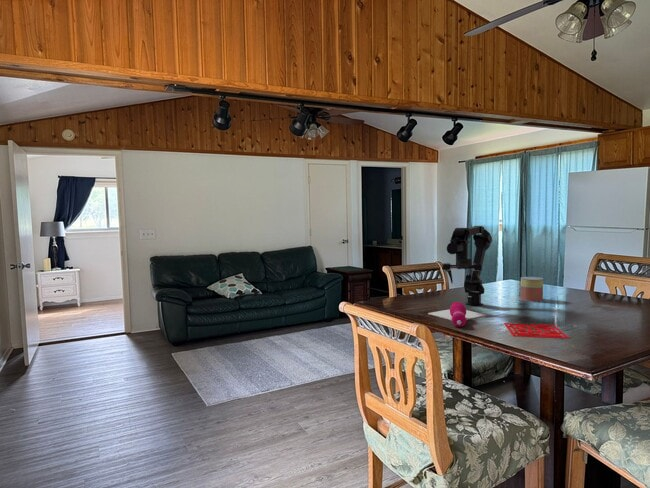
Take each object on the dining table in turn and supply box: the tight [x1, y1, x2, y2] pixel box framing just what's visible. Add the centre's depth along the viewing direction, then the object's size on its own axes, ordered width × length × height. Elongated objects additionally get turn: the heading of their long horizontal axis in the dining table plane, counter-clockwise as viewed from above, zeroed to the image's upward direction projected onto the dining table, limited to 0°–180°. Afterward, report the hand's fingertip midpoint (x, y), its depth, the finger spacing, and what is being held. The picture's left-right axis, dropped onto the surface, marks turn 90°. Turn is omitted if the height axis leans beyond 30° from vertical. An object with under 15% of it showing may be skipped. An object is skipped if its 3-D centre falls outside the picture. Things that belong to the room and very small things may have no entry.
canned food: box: [519, 276, 544, 303], centre depth 237 cm, size 11×11×12 cm
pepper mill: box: [449, 301, 467, 328], centre depth 190 cm, size 7×7×20 cm
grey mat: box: [427, 308, 487, 321], centre depth 206 cm, size 20×18×1 cm
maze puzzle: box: [503, 322, 570, 339], centre depth 177 cm, size 20×20×1 cm
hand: (461, 283), depth 217 cm, fingers open, 9 cm apart
